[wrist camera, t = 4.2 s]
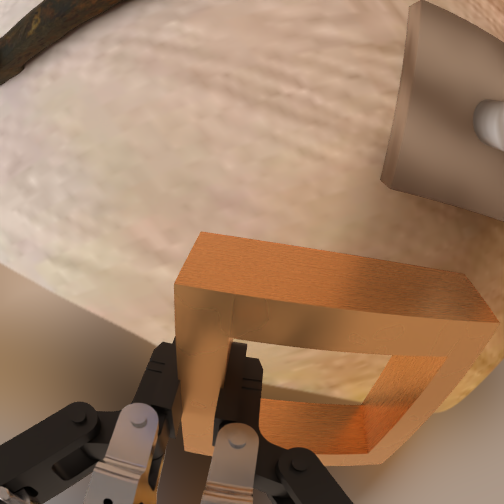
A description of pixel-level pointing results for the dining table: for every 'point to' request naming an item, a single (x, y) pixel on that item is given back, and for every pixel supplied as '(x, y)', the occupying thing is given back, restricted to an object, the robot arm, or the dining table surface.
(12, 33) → the hand tool
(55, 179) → the dining table surface
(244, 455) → the robot arm
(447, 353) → the link
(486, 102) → the keeper
